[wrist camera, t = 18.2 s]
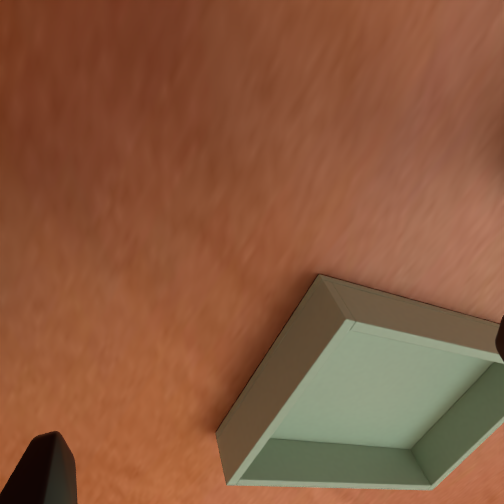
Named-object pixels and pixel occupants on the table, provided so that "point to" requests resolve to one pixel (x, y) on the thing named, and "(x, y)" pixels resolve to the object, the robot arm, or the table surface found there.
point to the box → (365, 395)
